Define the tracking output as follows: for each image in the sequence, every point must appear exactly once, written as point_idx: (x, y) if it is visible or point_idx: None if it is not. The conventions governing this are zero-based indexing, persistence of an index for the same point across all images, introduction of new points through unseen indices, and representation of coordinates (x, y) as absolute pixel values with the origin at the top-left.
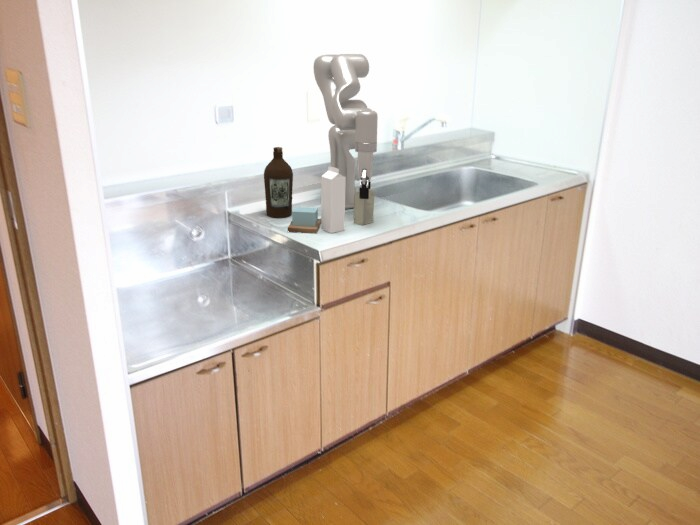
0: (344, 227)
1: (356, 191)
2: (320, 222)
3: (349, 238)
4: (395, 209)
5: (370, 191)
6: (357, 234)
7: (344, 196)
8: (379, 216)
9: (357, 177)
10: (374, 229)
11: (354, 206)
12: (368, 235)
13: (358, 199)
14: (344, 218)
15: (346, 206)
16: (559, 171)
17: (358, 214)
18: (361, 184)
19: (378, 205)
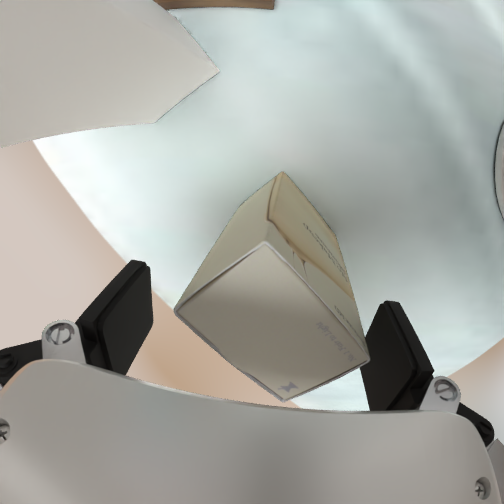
0: (145, 123)
1: (236, 261)
2: (241, 2)
3: (70, 153)
4: (438, 356)
5: (249, 375)
6: (111, 182)
7: (15, 137)
8: (376, 302)
9: (4, 386)
10: (183, 258)
11: (272, 195)
12: (108, 226)
13: (226, 245)
14: (120, 124)
15: (501, 177)
16: None
17: (246, 207)
18: (45, 354)
19: (495, 308)
